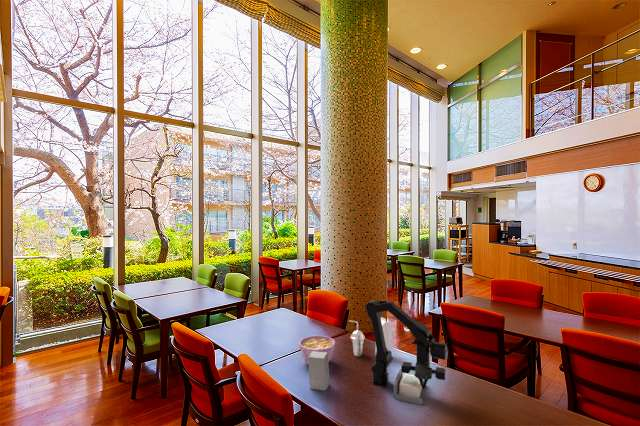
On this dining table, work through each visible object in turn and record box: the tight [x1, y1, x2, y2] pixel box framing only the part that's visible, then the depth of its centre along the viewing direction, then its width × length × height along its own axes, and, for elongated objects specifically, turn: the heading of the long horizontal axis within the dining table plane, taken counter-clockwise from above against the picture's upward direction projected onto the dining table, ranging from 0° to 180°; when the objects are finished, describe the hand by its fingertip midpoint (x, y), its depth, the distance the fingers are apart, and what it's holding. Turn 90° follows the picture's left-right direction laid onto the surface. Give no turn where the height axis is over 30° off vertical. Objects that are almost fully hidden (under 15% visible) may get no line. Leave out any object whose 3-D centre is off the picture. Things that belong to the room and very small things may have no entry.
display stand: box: [393, 368, 427, 406], centre depth 148 cm, size 12×16×6 cm
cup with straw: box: [348, 319, 366, 357], centre depth 189 cm, size 8×9×20 cm
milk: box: [374, 316, 391, 356], centre depth 187 cm, size 6×6×22 cm
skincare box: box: [307, 351, 330, 392], centre depth 154 cm, size 8×7×16 cm
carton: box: [399, 373, 423, 398], centre depth 150 cm, size 8×11×5 cm
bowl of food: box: [299, 334, 336, 364], centre depth 179 cm, size 20×20×12 cm
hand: (423, 389), depth 146 cm, fingers closed
